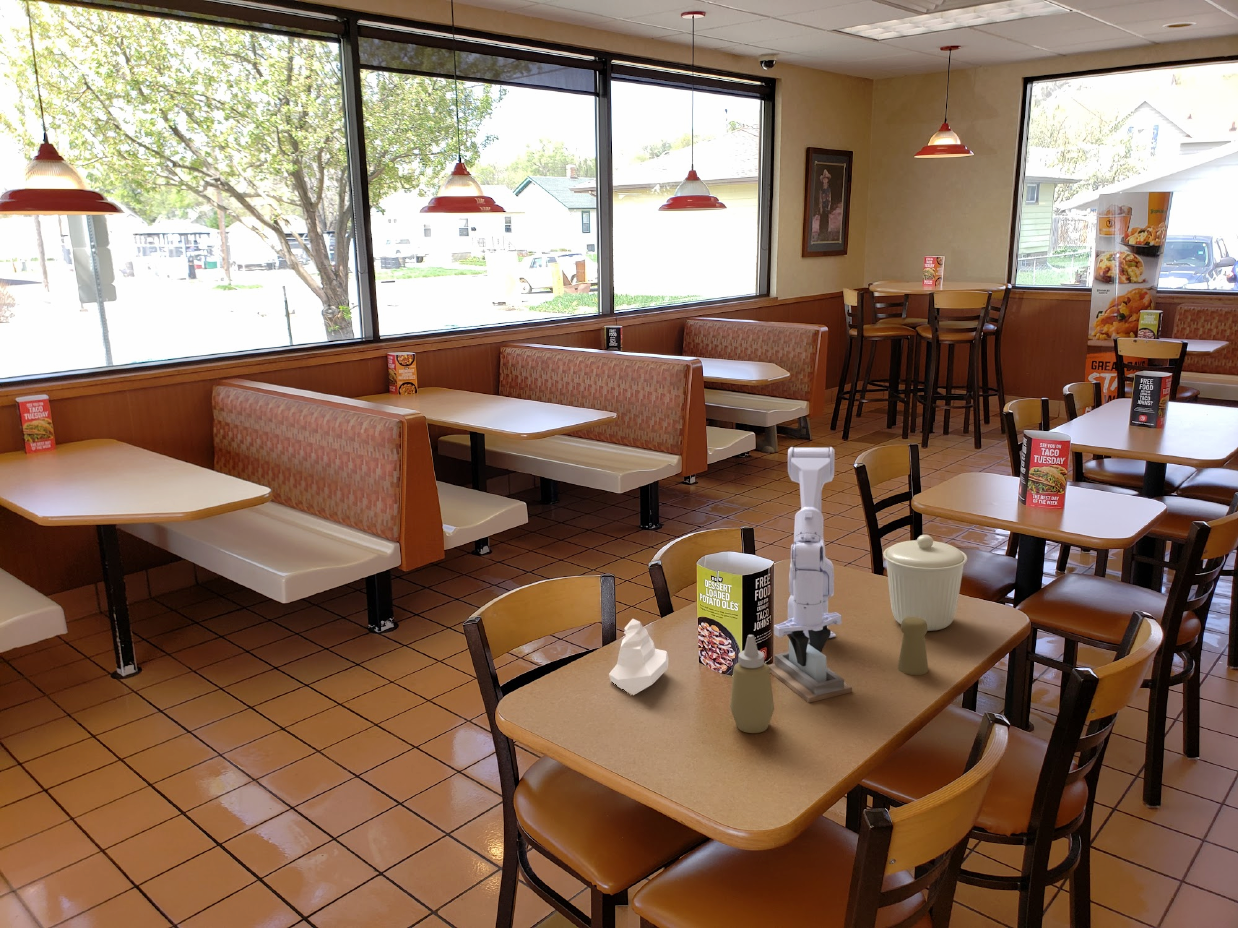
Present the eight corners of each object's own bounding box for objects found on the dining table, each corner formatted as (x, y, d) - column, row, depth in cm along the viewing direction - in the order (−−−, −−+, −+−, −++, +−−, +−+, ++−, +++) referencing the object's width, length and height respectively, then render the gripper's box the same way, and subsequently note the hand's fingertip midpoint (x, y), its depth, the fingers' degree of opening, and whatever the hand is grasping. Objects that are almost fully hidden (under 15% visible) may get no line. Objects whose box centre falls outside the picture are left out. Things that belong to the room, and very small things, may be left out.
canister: (868, 626, 210) (869, 539, 205) (901, 601, 223) (903, 519, 219) (946, 645, 199) (949, 553, 194) (976, 618, 212) (980, 531, 207)
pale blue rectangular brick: (826, 684, 182) (826, 656, 180) (815, 686, 181) (815, 658, 180) (799, 664, 191) (799, 637, 190) (788, 666, 190) (788, 639, 189)
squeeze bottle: (763, 741, 164) (762, 648, 160) (723, 730, 168) (720, 640, 164) (781, 721, 171) (780, 631, 167) (741, 711, 175) (739, 624, 171)
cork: (895, 672, 188) (896, 622, 185) (900, 660, 193) (902, 611, 190) (925, 677, 185) (927, 626, 182) (930, 664, 190) (932, 615, 187)
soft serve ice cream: (600, 701, 185) (583, 634, 184) (631, 675, 198) (615, 612, 198) (655, 696, 179) (638, 626, 179) (683, 670, 192) (667, 605, 192)
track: (766, 669, 192) (766, 656, 191) (807, 660, 195) (807, 646, 194) (808, 702, 177) (808, 688, 176) (852, 691, 180) (852, 677, 180)
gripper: (786, 613, 176) (787, 677, 179) (850, 599, 181) (850, 663, 184) (768, 600, 182) (769, 663, 185) (830, 588, 187) (830, 649, 190)
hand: (808, 662), depth 185 cm, fingers closed on pale blue rectangular brick, 2 cm apart
